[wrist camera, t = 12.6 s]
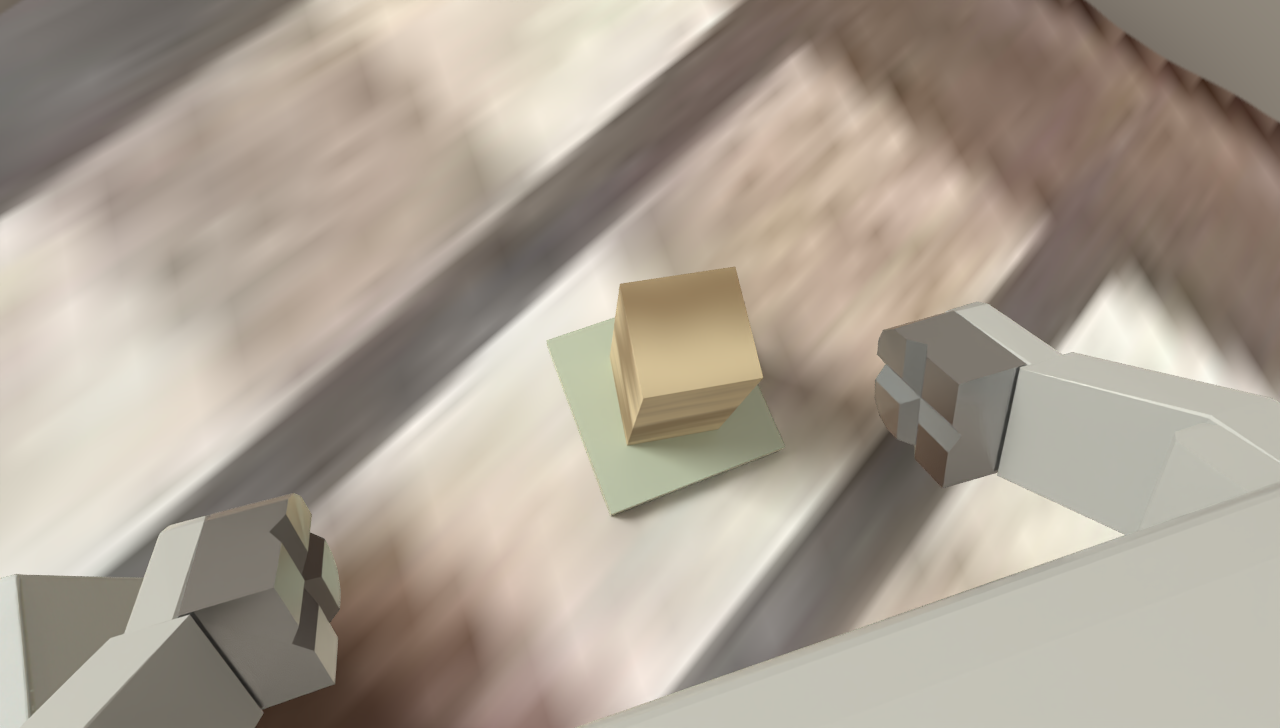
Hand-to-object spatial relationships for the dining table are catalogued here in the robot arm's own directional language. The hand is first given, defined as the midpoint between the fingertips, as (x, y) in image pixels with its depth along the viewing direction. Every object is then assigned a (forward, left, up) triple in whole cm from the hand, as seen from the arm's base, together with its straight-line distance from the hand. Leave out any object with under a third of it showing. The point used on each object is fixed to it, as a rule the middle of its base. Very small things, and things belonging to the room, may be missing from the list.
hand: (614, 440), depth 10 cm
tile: (+6, -7, -29) cm, 31 cm away
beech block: (+6, -7, -28) cm, 30 cm away
